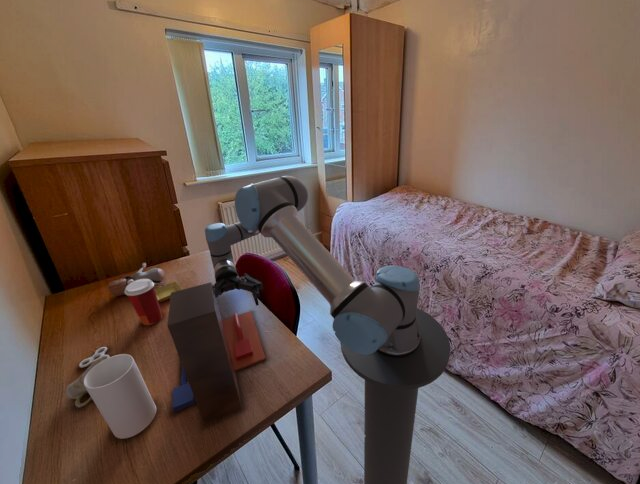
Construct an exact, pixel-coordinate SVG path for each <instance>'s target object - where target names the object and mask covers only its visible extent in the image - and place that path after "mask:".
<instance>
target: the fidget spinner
mask: <svg viewBox="0 0 640 484" xmlns="http://www.w3.org/2000/svg"><path fill="white" fill-rule="evenodd" d="M106 352H108V347H107V346H102V347H99V348H97V349H96V350H95V351H94V354H93V355H92V356H90V357H88V358H84V359H83V360H81V362H79V363H78V367H79V368H81V369H82V368H86V367H87V368H88V367H89V366H90V365H91V364H92V363H93V362H95V361H96V360H98V359H100V358H102V357H106V358H109V357H111V356H110V355H109V354H106ZM86 362H87V363H86Z"/></svg>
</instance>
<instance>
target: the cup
mask: <svg viewBox="0 0 640 484" xmlns="http://www.w3.org/2000/svg"><path fill="white" fill-rule="evenodd" d="M106 358H107V357H106ZM84 386H85V388H86V389H87V391H88V393H87V394H88V395H89V396H90V397H91V398H92V401H93V402H94V404H95V406H96V408H97V409H98V411H99V413H100V414H101V416H102V418H103V419H104V421H105V423H106V425H107V426H108V427H109V429H110V430H111V432H112V434H113V436H114V437H115V438H117V439H129V438H132V437H134V436H136V435H138V434H139V433H141V432H142V431H144V430H145V429H146V428H148V426H150V425H151V423H152V422H153V420H154V419H155V417H156V414H157V406H156V403H155V401H154V399H153V397H152V395H151V393H150V390H149V388H148V386H147V384H146V382H145V380H144V378H143V375H142V374H141V372H140V369H139V367H138V365H137V363H136V361H135V358H134V357H133V356H132V355H130V354H128V353H120V354H116V355H112V356H110V357H109V358H107V359H105V360H103V361H101V362H100V363H98V364H97V365H95V366H94V367H93V368H92V369H91V370H90V371H89V372H88V373H87V374H86V376H85V378H84Z"/></svg>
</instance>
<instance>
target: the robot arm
mask: <svg viewBox="0 0 640 484" xmlns="http://www.w3.org/2000/svg"><path fill="white" fill-rule="evenodd" d="M308 200H309V193H308V189H307V186H306V185H305V184H304V182H303V181H302V180H300V179H299V178H298V177H295V176H293V175H282V176H278V177H275V178H271V179H266V180H263V181H259V182H255V183H250V184H248V185H245V186H242V187H240V188H238V190H237V191H236V193H235V196H234V209H235V214H236V216H237V219H238V221H237V222H235V223H231V224H228V225H226V224H225V223H223V222H216V223H211V224H209V225H207V226H206V227H205V229H204V235H205V240H206V243H207V247H208V250H209V255H210V260H211V263H212V267H213V274H214V275H213V276H214V280H215V282H214V284H212V286H213V289H214V293H215V297H216V299H217V298H218V297H220V296H221V295H223V294H224V293H227V292H229V291H234V290H238V291H241V290H242V291H246V292H250V293H251V294H252V297H253V301H254V303H255V306H259V299H258V298H259V297H260V295H261V294H260V291H263V290H264V288H263V283H262V282H261V281H259V280H258V279H256V278H253V277H251V276H250V275H249V274H248V273H244V274H243V276H241V277H240V276H239V274H238V271H237V267H236V264H235V260H234V256H233V251H232V246H233V245H236V244H238V243H240V242H242V241H245V240H247V239H250V238H252V237H255V236H258V235H259V234H261V235H262V236H263V237H264V238H272V239H273V240H274V242H275V243H276V244H277V245H278V247H280V248H281V249H282V251H283V252H284V253H285V254H286V256H288V258H289V259H290V260H291V261H292V262H293V264H294V265H295V266H296V267H297V268H298V269H299V271H301V273H302V274H303V275H304V276H305V277H306V278H307V280H309V282H310V283H311V284H312V285H313V287H314V288H315V289H316V290H317V291H318V292H319V294H320V295H321V296H322V297H323V298H324V299H325V300H326V302H327V303H328V304H329V306H330V307H329V315H330V316H331V317H332V318H333V321H332V330H333V332H334V335H335V337H336V339H337V340H338V341H339V342H341V343H342V344H343V345H344V346H345V347H346V348H348V349H349V350H351V351H353V352H355V353H359V354H363V355H368V354H372V353H374V352H375V351H378V352H379V353H381V354H383V355H385V356H388V357H394V358H401V357H406V356H409V355H411V354H413V353H414V352H415V351H416V350H417V349H418V347H419V344H420V331H419V328H418V325H417V321H416V313H417V308H418V304H419V303H418V302H419V295H420V294H419V293H420V288H421V287H420V278H419V276H418V275H417V273H416V272H415V271H413V270H412V269H410V268H408V267H404V266H400V265H385V266H382V267H380V268H378V269H377V271H376V273H375V277H374V278H375V283H373V285H372V286H369V284H367V282H366V281H364V280H356V279H355V278H354V277H353V276H352V275H351V274H350V273H349V272H348V271H347V269H346V268H344V266H343V265H342V264H341V263H340V262H339V261H338V260H337V259H336V258H335V256H333V254H332V253H331V252H330V251H329V250H328V249H327V248H326V247H325V246H324V244H323V243H322V242H321V241H320V240H319V239H318V238H317V237H316V236H315V235H314V234H313V233H312V232H311V230H310V229H309V228H308V227H307V226H306V225H305V224H304V223H303V222H302V221H301V220H300V219H299V217H298V212H300V211H301V210H303V209H304V207H305V206H306V205H307V202H308Z"/></svg>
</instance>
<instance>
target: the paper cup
mask: <svg viewBox="0 0 640 484" xmlns="http://www.w3.org/2000/svg"><path fill="white" fill-rule="evenodd" d="M154 283H155V282H153V281H151V280H150V279H140V280H136V281H134V282H132V283H130V284H129V285H128V286H127V287H126V289H125V292H124V293H125V294H124V295H125V296H127V297H128V300H129V301H130V303H131V305H132V307H133V309H134V310H135V312H136V315H137V316H138V318H139V320H140V321H141V324H142V325H144V326H151V325H155V324H156V323H158V322H160V321H161V319H162V318H163V315H162V311H161V306H160V303H159V301H158V299H157V296H156V292H155V289H156V288H155V286H154Z"/></svg>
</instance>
